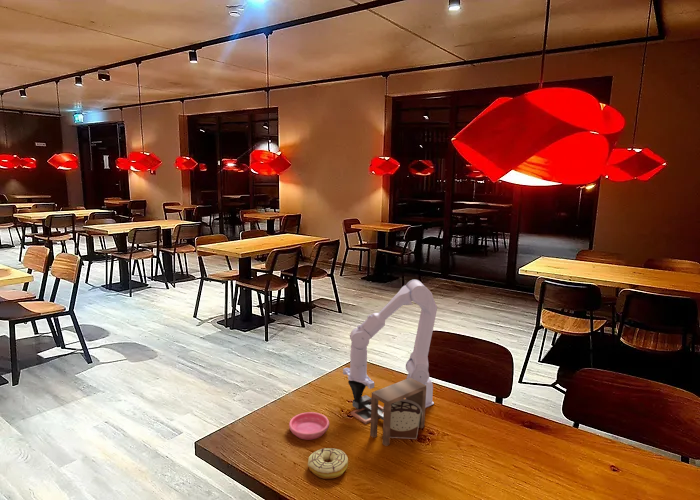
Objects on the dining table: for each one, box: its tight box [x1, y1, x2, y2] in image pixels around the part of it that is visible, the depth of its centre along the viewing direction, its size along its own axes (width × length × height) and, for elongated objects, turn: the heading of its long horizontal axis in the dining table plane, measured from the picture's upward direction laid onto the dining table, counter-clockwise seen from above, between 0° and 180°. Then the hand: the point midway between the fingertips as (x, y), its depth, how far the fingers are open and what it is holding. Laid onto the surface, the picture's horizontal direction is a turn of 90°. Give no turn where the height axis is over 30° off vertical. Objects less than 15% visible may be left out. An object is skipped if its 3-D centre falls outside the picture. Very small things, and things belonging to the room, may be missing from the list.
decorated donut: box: [307, 447, 349, 480], centre depth 120 cm, size 10×11×4 cm
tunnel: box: [369, 378, 427, 447], centre depth 138 cm, size 17×7×14 cm, turn 129°
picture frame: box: [350, 404, 384, 425], centre depth 149 cm, size 11×8×1 cm
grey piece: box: [352, 394, 384, 421], centre depth 146 cm, size 8×17×4 cm, turn 39°
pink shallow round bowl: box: [288, 411, 330, 441], centre depth 138 cm, size 12×12×3 cm
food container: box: [382, 398, 423, 440], centre depth 137 cm, size 12×6×10 cm, turn 87°
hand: (357, 400), depth 153 cm, fingers closed
